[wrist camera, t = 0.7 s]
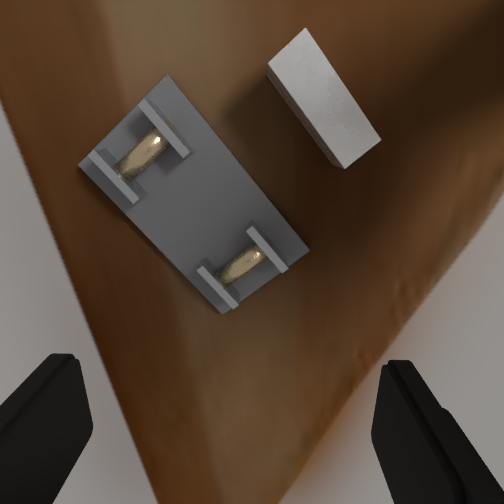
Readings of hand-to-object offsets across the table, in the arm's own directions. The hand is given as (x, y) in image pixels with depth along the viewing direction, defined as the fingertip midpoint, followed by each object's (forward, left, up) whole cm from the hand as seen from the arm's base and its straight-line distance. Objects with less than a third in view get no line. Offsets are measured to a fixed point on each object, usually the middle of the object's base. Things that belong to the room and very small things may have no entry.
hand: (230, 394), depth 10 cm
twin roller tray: (+3, -4, -24) cm, 25 cm away
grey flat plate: (+3, -4, -24) cm, 25 cm away
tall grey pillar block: (-11, -4, -25) cm, 27 cm away
